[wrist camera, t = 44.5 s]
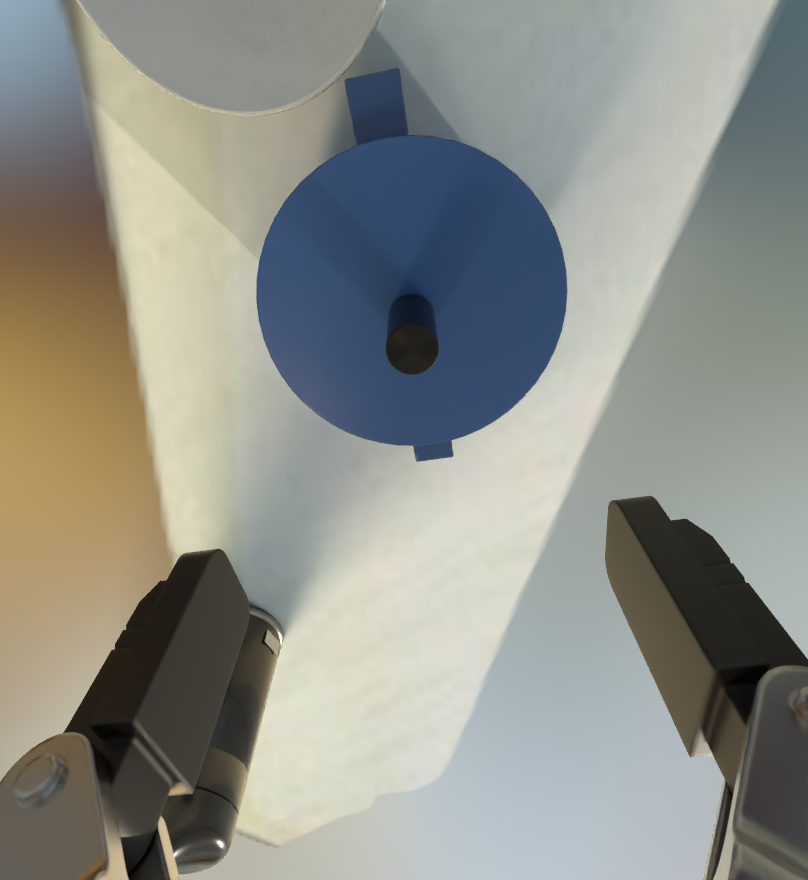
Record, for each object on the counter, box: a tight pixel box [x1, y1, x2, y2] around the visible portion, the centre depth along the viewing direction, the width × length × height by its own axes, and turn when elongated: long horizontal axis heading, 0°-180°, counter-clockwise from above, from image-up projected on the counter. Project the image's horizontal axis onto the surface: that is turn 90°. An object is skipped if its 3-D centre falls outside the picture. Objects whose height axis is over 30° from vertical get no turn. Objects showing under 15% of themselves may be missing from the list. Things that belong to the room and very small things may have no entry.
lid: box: [257, 135, 567, 446], centre depth 23 cm, size 16×16×6 cm
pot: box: [345, 68, 453, 462], centre depth 30 cm, size 15×20×10 cm
